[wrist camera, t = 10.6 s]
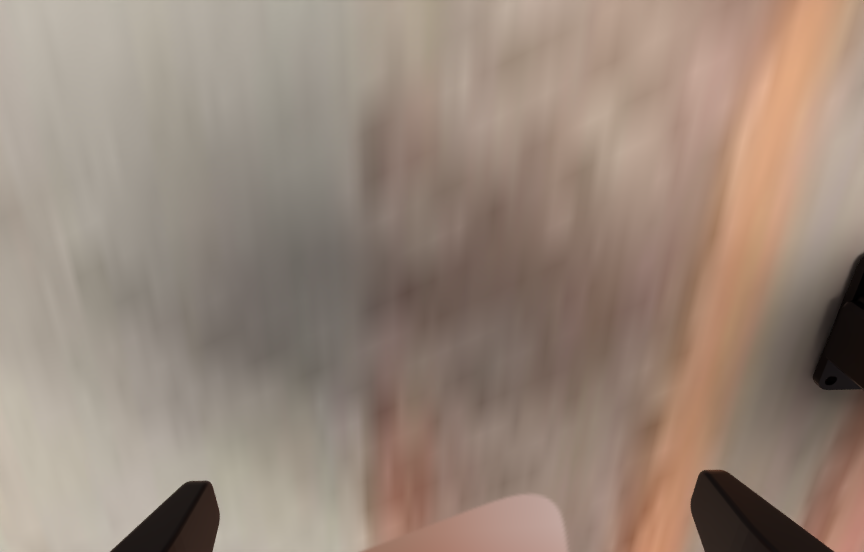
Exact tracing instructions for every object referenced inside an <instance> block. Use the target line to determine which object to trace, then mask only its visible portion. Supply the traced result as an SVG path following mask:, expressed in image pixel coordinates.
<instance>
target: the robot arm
mask: <svg viewBox="0 0 864 552" xmlns="http://www.w3.org/2000/svg"><path fill="white" fill-rule="evenodd" d="M813 380H814V382H815V383H816V384H817V385H818V386H819V387H821V388H822V389H825V390H843V389H863V390H864V257H863V258H862V259H861V260H860V261H859V263H858V265H857V267H856V270H855V273H854V275H853V278H852V280H851V283H850V285H849V288H848V290H847V293H846V295H845V298H844V300H843V303H842V305H841V308H840V310H839V313H838V315H837V318H836V320H835V323H834V325H833V328H832V330H831V333H830V335H829V338H828V340H827V343H826V345H825V348H824V350H823V353H822V355H821V358H820V360H819V363H818V365H817V368H816V370H815V373H814V376H813ZM691 512H692V516H693V519H694V521H695V524H696V527H697V530H698V533H699V536H700V539H701V542H702V545H703V548H704V550H705V552H834V551H832V550H831V549H830V548H828V547H827V546H826V545H824V544H823V543H822V542H820V541H819V540H818V539H816V538H815V537H814V536H812V535H811V534H810V533H808V532H807V531H806V530H804V529H803V528H802V527H800V526H799V525H798V524H796V523H795V522H794V521H792V520H791V519H790V518H788V517H787V516H786V515H784V514H783V513H782V512H780V511H779V510H778V509H776V508H775V507H774V506H772V505H771V504H770V503H768V502H767V501H766V500H764V499H763V498H762V497H760V496H759V495H758V494H756V493H755V492H754V491H752V490H751V489H750V488H748V487H747V486H746V485H744V484H743V483H742V482H740V481H739V480H738V479H736V478H735V477H734V476H732V475H731V474H729V473H728V472H726V471H724V470H704V471H702V472H701V473H700V474H699V476H698V479H697V482H696V485H695V488H694V492H693V495H692V498H691ZM219 520H220V513H219V508H218V504H217V501H216V497H215V493H214V489H213V486H212V484H211V483H210V482H209V481H189V482H186V483H185V484H183V485H182V486H181V487H180V488H179V489H178V490H177V491H175V492H174V493H173V494H172V495H171V496H170V497H169V498H168V499H167V500H166V501H165V502H164V503H162V504H161V505H160V506H159V507H158V508H157V509H156V510H155V511H154V512H153V513H152V514H150V515H149V516H148V517H147V518H146V519H145V520H144V521H143V522H142V523H141V524H140V525H139V526H137V527H136V528H135V529H134V530H133V531H132V532H131V533H130V534H129V535H128V536H127V537H125V538H124V539H123V540H122V541H121V542H120V543H119V544H118V545H117V546H116V547H115V548H114V549H112V550H111V551H110V552H212V551H213V547H214V543H215V539H216V534H217V530H218V526H219Z"/></svg>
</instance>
